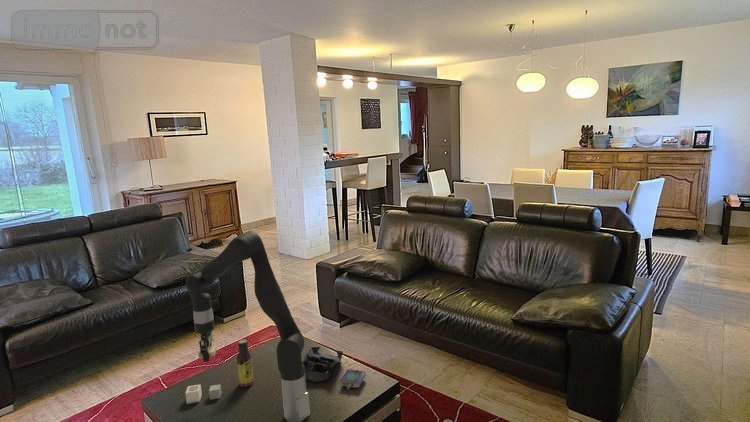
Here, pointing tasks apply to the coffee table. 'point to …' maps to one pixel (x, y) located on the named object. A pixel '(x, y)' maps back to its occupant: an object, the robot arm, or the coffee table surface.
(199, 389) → the white cube box
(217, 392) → the gray cube
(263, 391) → the coffee table surface
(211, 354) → the lid
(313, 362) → the dark piece
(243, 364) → the sauce bottle
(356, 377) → the grey electronic device
